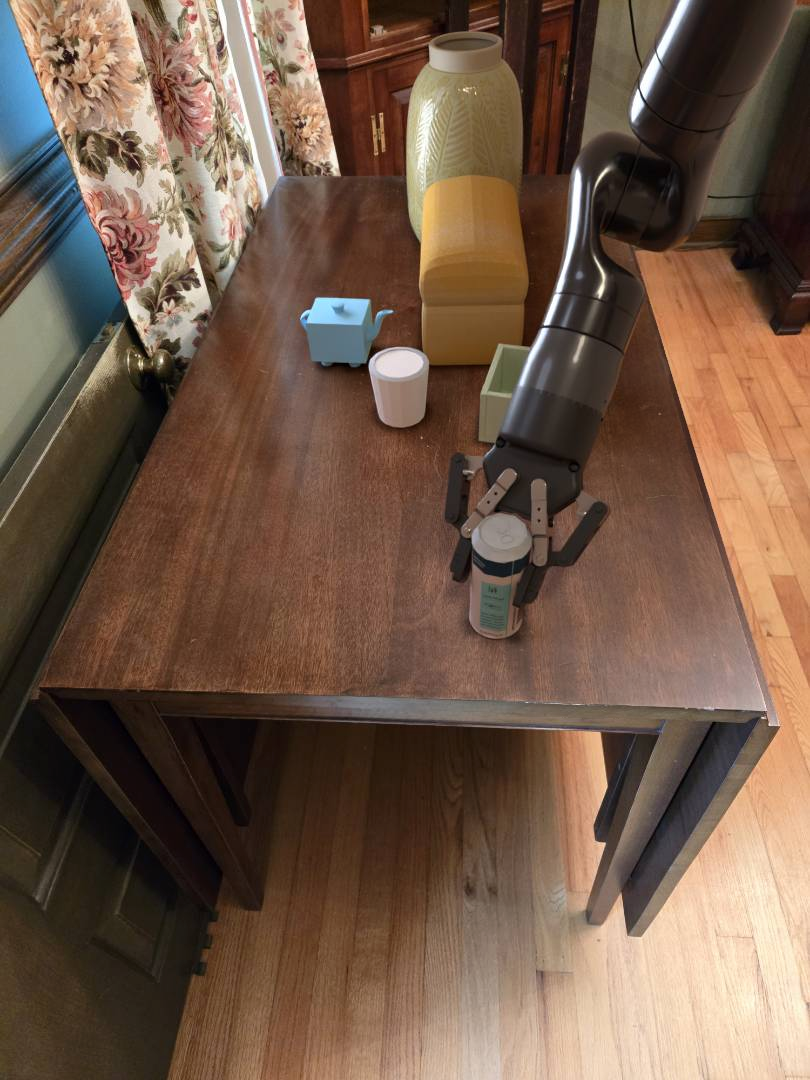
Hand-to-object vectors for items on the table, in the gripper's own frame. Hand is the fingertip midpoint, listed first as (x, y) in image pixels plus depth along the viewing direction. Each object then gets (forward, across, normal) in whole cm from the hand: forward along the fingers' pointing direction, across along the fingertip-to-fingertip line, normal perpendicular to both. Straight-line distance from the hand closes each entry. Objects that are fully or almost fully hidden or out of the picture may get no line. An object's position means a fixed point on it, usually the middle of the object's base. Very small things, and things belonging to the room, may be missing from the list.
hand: (488, 592), depth 60 cm
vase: (-42, -37, +51) cm, 76 cm away
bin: (-17, -9, +25) cm, 31 cm away
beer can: (+3, 0, +6) cm, 7 cm away
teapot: (-18, -35, +27) cm, 47 cm away
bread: (-29, -26, +38) cm, 54 cm away
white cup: (-12, -23, +21) cm, 34 cm away
